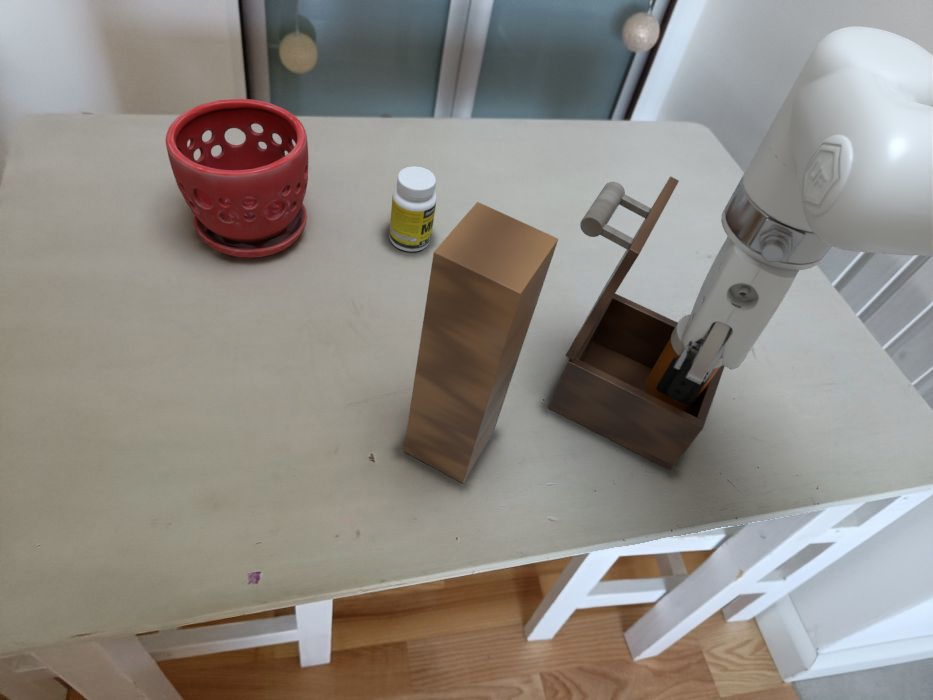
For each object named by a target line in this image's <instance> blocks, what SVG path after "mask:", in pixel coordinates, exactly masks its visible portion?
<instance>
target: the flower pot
mask: <svg viewBox="0 0 933 700" xmlns="http://www.w3.org/2000/svg"><path fill="white" fill-rule="evenodd" d="M297 117H298V116H296V115H294V114H293V113H292V112H291V111H289V110H287V109H285V108H283V107H281V106H279V105H276V104H273V103H270V102H266V101H263V100H257V99H250V98H227V99H218V100H213V101H209V102H205V103H202V104H198V105H197V106H194V107H192V108H189V109H188V110H186V111H184V112H183V113H181V114H180V115H178V116H177V117H176V118H175V119H174V120H173V121H172V123H171V124H170V125H169V127H168V129H167V132H166V135H165V147H166V151H167V156H168V160H169V164H170V167H171V171H172V174H173V177H174V180H175V183H176V185H177V188H178V190H179V191H180V193H181V195H182V197H183V199H184V201H185V203H186V205H187V207H188V208H189V210H190V211H191V212H192V214H193V219H192V220H193V227H194V229H195V231H196V234H197V235H198V236H199V238H200V239H201V240H202V241H203V242H204V243H205V244H206V245H208V246H209V247H210V248H212V249H213V250H215V251H217V252H219V253H221V254H225V255H228V256H232V257H237V258H247V259H248V258H260V257H261V258H262V257H267V256H270V255H274V254H277V253H280V252H281V251H283V250H286V249H287V248H289V247H290V246H292V245H293V244H294V243H295V242H296V241H297V240H298V238H300V236H301V235H302V234H303V232H304V230H305V227H306V224H307V220H308V219H307V218H308V212H307V209H306V206H305V204H304V200H305V197H306V193H307V188H308V182H309V181H308V180H309V144H308V143H309V142H308V136H307V131H306V128H305V126H304V125H303V123H302V122H301V120H300V119H298V118H297ZM252 125H258V126H260V127H261V128H262V131H261V132H256V131H255V130H253V128H252ZM231 129H236V130H239V131H241V132H242V133H243V134H244V136H245V139H244V142H242V143H240V144H233V143H230V142H228V140H226V132H228V130H231ZM208 131H210V133H211V136H210V138H209V140H207V141H204V140H203V135H204V134H205V133H206V132H208ZM273 134H276V135H277V136H279V137H280V140H281V143H278V142H277V141H275V139H274V137H273ZM188 142H189V145H188ZM261 142H262V143H264V144H265V146H266V148H262V147H261V146H260V144H259V143H261ZM293 142H294V143H295V145H294V143H293ZM216 146H220V150H221V152H220V153H219V154H218V155H215V156H214V155H213V154H212V150H213V148H214V147H216ZM198 150H199V153H200V154H199V157H198V158H197V159H195V152H196V151H198ZM286 152H287V154H286Z"/></svg>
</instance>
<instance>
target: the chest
mask: <svg viewBox="0 0 933 700" xmlns="http://www.w3.org/2000/svg"><path fill="white" fill-rule="evenodd" d="M678 322H679V321H676V320H673V319H672V318H669V317H667V316H665V315H662V314H661V313H658V312H656V311H654V310H652V309H650V308H648V307H645V306H643V305H642V304H639V303H638V302H635V301H633V300H631V299H628V298H626V297H624V296H623V295H619V294H617V292H615V294H614V296H613V297H612V299H611V300H610V302H609V304H608V305H607V307H606V309H605V310H604V312H603V313H602V315H601V317H600V318H599V320H598V321H597V323H596V325H595V326H594V328H593V329H592V331H591V333H590V334H589V336H588V337H587V339H586V341H585V342H584V344H583V345H582V347H581V349H580V350H579V352H578V353H577V355H576V357H575V358H574V360H572V359H570V358H568V360H567V362H566V365H565V366H564V369H563V371H562V374H561V375H560V378H559V381H558V383H557V386H556V388H555V390H554V392H553V395H552V398H551V399H550V402H549V404H548V406H547V408H548V409H550V410H552V411H553V412H556V413H557V414H560V415H561V416H563V417H566V418H567V419H569V420H571V421H574V422H575V423H578V424H579V425H581V426H583V427H585V428H587V429H589V430H591V431H593V432H595V433H597V434H599V435H601V436H603V437H604V438H606V439H609V440H611V441H613V442H614V443H616V444H619V445H620V446H622V447H624V448H625V449H628V450H630V451H632V452H634V453H635V454H637V455H640V456H642V457H644V458H646V459H648V460H649V461H651V462H653V463H656V464H658V465H659V466H661V467H663V468H666V469H667V470H669V471H671V470H672V469H673V468H674V467H675V466H676V464H677V463H678V462H679V460H680V459H681V458H682V457H683V455H684V454H685V453H686V451H687V450H688V449H689V447H690V446H691V445H692V444H693V443H694V441H695V440H696V438H697V437H698V436H699V434H700V433H701V432H702V430H703V429H704V427H705V424H706V422H707V419H708V415H709V413H710V410H711V408H712V405H713V401H714V399H715V396H716V393H717V391H718V387H719V384H720V381H721V379H722V376H723V372H724V370H725V368H726V367H725V366H723V365H722V366H721V367H720V368H719V369H718V371H717V372H716V374H715V375H714V377H713V378H712V379H711V381H710V382H709V384H708V385H707V386H706V388H705V389H704V391H703V392H702V393H701V395H700V396H699V398H698V399H697V401H696V402H695V403H694V405H693V406H692V407H691V408H690V409H688V410H686V411H682V410H680V409H678V408H676V407H674V406H672V405H670V404H668V403H666V402H664V401H662V400H660V399H658V398H656V397H654V396H652V395H650V394H648V393H647V391H646V385H645V383H646V379H647V377H648V375H649V374H650V372H651V370H652V369H653V367H654V365H655V364H656V362H657V360H658V358H659V357H660V355H661V353H662V352H663V350H664V348H665V346H666V345H667V343H668V341H669V340H670V338H671V335H672V332H673V330H674V329H675V327H676V325H677V324H678Z"/></svg>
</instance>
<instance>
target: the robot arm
mask: <svg viewBox="0 0 933 700" xmlns="http://www.w3.org/2000/svg"><path fill="white" fill-rule="evenodd" d="M720 222H721V224H722V228H723V230H724V233H725V235H726V236H727V237H726V238H725V240H724V242H723V243H722V246H721V247H720V249H719V250H718V253H717V254H716V256H715V258H714V260H713V263H712V264H711V266H710V267H709V270H708V272H707V274H706V276H705V278H704V280H703V282H702V285H701V287H700V289H699V292H698V294H697V297H696V298H695V301H694V305H693V307H692V309H691V312H690V313H689V315H690V317H689V320H688V323H687V325H686V328H685V331H684V333H683V336H682V339H681V340H682V343H683V346H684V348H683V350H682V351H681V353H680V355H679V357H678V358H677V359H675V358H673V360H672V361H671V363H670V365H669V366H668V368H667V370H666V371H665V373H664V375H663V376H662V378H661V379H660V381H659V383H658V385H657V387H656V389H657V390H658V391H659V392H661V393H663V394H665V395H667V396H669V397H671V398H673V399H675V400H677V401H679V402H681V403H684V404H686V405H690V404H691V403H692V402H693V400H694V399H695V397H696V396H697V395H698V393H699V392H700V390H701V389H702V387H703V386H704V385H705V383H706V382H707V380H708V379H709V376H710V374H711V372H712V370H713V369H714V367H715V365H716V364H717V362H718V361H719V359H720V358H721V356H722V354H723V366H725V367H724V368H727V369H729V370H731V371H732V370H735V369H738V368H739V367H740V366H741V365H742V363H743V362H744V360H746V357H747V356H748V355H749V353H750V351H751V350H752V348H753V347H754V345H755V344H756V342H757V341H758V340H759V337H760V336H761V335H762V333H763V331H764V330H765V329H766V327H767V326H768V325H769V322H770V321H771V319H772V318H773V316H774V315H775V313H776V312H777V310H778V309H779V308H780V305H781V303H782V302H783V300H784V299H785V297H786V295H787V294H788V292H789V290H790V288H791V287H792V286H793V284H794V282H795V280H796V277H797V276H798V274H799V272H800V271H804V270H808V269H812V268H813V267H816V266H817V265H818V264H820V263H821V261H823V259H824V257H825V256H826V254H828V252H829V251H830V250H831V248H832V247H833V248H836V249H840V250H843V251H850V252H856V253H869V254H882V255H883V254H884V255H894V256H895V255H897V256H898V255H899V256H921V257H933V54H932V53H931V52H929V51H928V50H927V49H925V48H924V47H922V46H921V45H919V44H918V43H916V42H914V41H913V40H911V39H908V38H907V37H904V36H902V35H900V34H898V33H895V32H891V31H889V30H886V29H880V28H876V27H871V26H859V25H858V26H857V25H853V26H846V27H842V28H839V29H835V30H834V31H832V32H830V33H828V34H827V35H825V36H824V37H823V38H821V40H819V42H818V43H817V44H816V45H815V47H814V48H813V50H812V51H811V52H810V54H809V55H808V57H807V59H806V61H805V63H804V64H803V66H802V68H801V70H800V72H799V74H798V76H797V77H796V79H795V80H794V82H793V84H792V86H791V88H790V90H789V92H788V93H787V95H786V97H785V98H784V100H783V102H782V104H781V106H780V107H779V110H778V112H776V115H775V117H774V119H773V120H772V122H771V124H770V125H769V128H768V130H767V131H766V133H765V135H764V137H763V138H762V140H761V142H760V144H759V146H758V148H757V150H756V151H755V153H754V155H753V157H752V158H751V160H750V162H749V164H748V166H747V168H746V170H745V171H744V173H743V175H742V176H741V179H740V180H739V182H738V184H737V185H736V188H734V191H733V192H732V194H731V196H730V198H729V200H728V202H727V204H726V205H725V207H724V209H723V210H722V213H721V220H720ZM703 337H705V339H702V338H703ZM692 348H693V349H695V350H697V351H698V352H697V354H696V356H695V358H694V359H693V361H692V360H690V359H688V358H687V357H688V355H689V353H690V352H691V350H692Z"/></svg>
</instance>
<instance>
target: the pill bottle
mask: <svg viewBox="0 0 933 700" xmlns="http://www.w3.org/2000/svg"><path fill="white" fill-rule="evenodd" d="M689 317H690V314H687V315H684V316H682V317H681V318H680V319H679V320H678V321H677V322H678V324H677V325H676V327H675V329H674V330H673V332H672V335H671V338H670V340H669V341H668V343H667V345H666V346H665V348H664V350H663V352H662V353H661V355H660V357H659V358H658V360H657V362H656V364H655V365H654V367H653V369H652V370H651V372H650V374H649V375H648V377H647V379H646V383H645V385H646V391H647V393H648V394H650V395H652V396H654V397H656V398H658V399H660V400H662V401H664V402H666V403H668V404H670V405H672V406H674V407H676V408H678V409H680V410H682V411H686V410H688V409H690V408H691V407H692V406H693V405H694V403H695V402H696V401H697V399H698V398H699V396H700V395H701V393H702V392H703V391H704V389H705V388H706V386H707V385H708V384H709V382H710V381H711V379H712V378H713V377H714V375H715V374H716V372H717V371H718V369H719V368H720V367H721V366H722V365H723V354H722V356H721V358H720V359H719V361H718V362H717V364H716V365H715V367H714V369H713V370H712V372H711V374H710V376H709V379H708V380H707V382H706V383H705V385H704V386H703V387H702V389H701V390H700V392H699V393H698V395H697V396H696V397H695V399H694V400H693V402H692V403H691V404H690V405H686V404H684V403H681V402H679V401H677V400H675V399H673V398H671V397H669V396H667V395H665V394H663V393H661V392H659V391H658V390H657V389H656V387H657V385H658V383H659V381H660V379H661V378H662V376H663V375H664V373H665V371H666V370H667V368H668V366H669V365H670V363H671V361H672V360H673V358H675V359H677V358H678V357H679V355H680V353H681V351H682V350H683V348H684V346H683V343H682V340H681V339H682V336H683V333H684V331H685V328H686V325H687V323H688V320H689ZM702 339H705V337H703V338H702ZM697 352H698V351H697V350H695V349H693V348H692V350H691V352H690V353H689V355H688V357H687V358H688V359H690V360H692V361H693V359H694V358H695V356H696V354H697Z"/></svg>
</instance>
